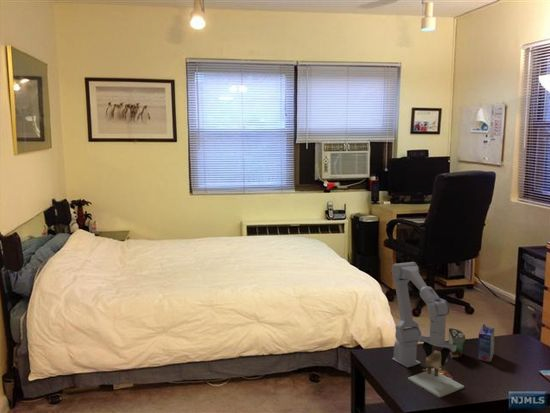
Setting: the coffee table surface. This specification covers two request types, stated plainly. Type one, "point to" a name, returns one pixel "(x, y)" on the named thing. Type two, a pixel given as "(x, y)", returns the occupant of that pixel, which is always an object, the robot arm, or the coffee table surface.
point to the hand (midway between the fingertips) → (436, 363)
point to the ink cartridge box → (486, 344)
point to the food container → (456, 342)
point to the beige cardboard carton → (434, 362)
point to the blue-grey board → (436, 383)
